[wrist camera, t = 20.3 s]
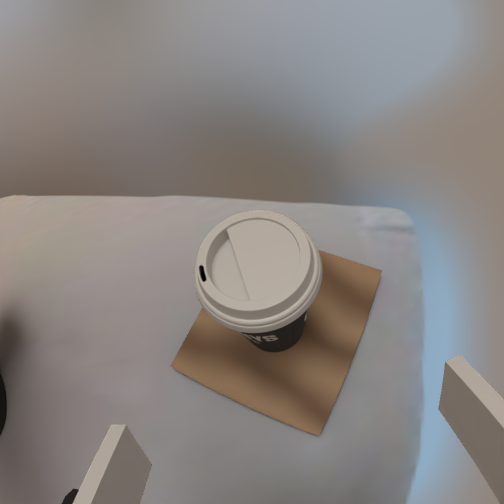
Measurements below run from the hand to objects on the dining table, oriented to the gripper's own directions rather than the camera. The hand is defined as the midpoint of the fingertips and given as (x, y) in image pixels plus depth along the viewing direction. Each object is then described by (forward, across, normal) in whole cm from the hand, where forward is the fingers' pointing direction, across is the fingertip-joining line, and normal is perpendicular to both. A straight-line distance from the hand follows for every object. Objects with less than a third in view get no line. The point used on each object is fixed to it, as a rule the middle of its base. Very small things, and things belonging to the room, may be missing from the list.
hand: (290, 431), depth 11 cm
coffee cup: (+23, 0, -7) cm, 24 cm away
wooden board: (+24, 0, -7) cm, 25 cm away
